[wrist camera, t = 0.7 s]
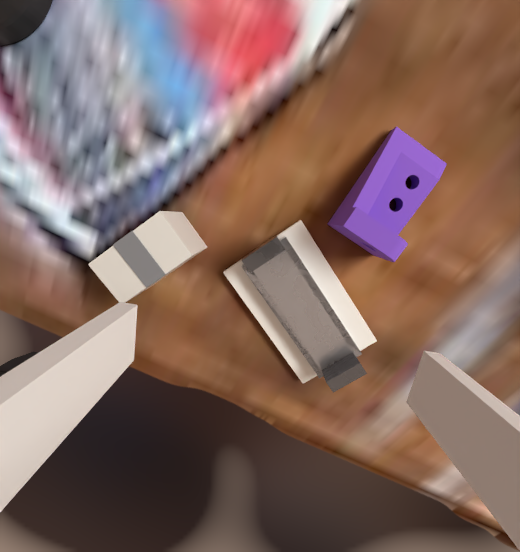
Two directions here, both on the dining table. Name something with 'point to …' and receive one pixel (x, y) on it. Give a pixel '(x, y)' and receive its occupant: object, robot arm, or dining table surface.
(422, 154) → the bracket
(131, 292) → the block
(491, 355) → the dining table surface
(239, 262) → the mount plate
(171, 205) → the dining table surface
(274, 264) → the rail
